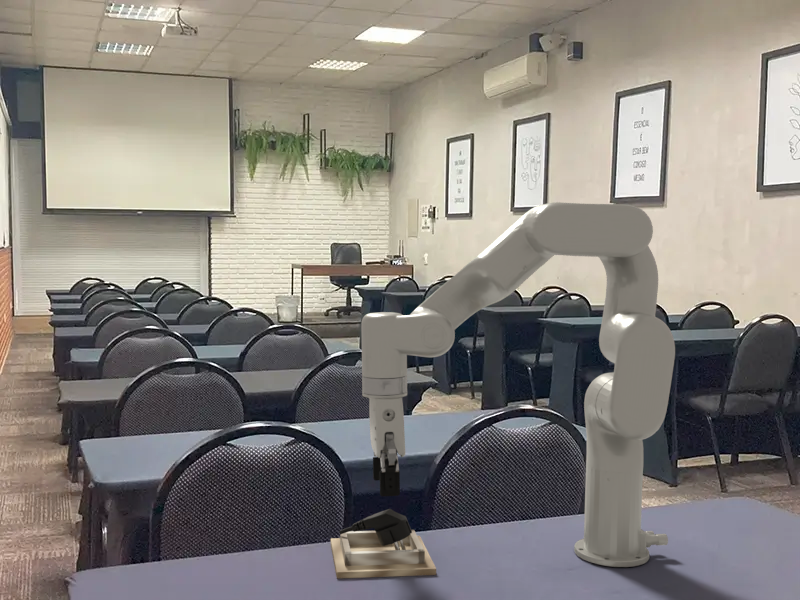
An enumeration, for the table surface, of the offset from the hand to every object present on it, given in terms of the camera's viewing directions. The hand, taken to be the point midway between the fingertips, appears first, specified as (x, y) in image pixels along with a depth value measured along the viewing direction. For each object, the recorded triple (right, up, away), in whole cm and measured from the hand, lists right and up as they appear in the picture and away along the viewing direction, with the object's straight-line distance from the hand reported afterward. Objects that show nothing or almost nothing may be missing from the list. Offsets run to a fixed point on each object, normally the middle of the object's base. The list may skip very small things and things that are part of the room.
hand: (386, 487), depth 143 cm
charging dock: (-1, -12, +1) cm, 12 cm away
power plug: (-2, -10, +1) cm, 11 cm away
